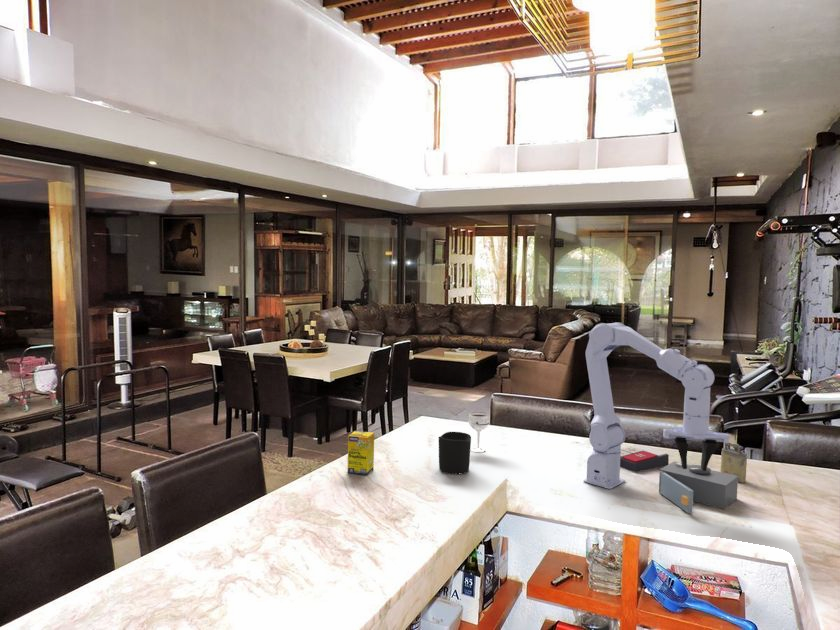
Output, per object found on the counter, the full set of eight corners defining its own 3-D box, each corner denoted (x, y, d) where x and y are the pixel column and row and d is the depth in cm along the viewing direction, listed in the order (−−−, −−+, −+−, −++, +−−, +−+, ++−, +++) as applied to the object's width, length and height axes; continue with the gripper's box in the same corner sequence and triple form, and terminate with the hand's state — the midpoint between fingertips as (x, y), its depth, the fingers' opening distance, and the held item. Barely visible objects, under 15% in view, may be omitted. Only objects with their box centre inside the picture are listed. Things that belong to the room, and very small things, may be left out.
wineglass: (464, 448, 186) (465, 412, 186) (483, 447, 188) (484, 411, 188) (472, 454, 180) (473, 417, 179) (492, 453, 182) (493, 416, 181)
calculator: (606, 451, 175) (639, 442, 182) (606, 464, 175) (639, 455, 183) (635, 461, 165) (669, 452, 173) (635, 475, 166) (669, 465, 173)
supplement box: (347, 473, 160) (347, 435, 159) (354, 467, 165) (355, 430, 165) (367, 475, 158) (367, 437, 158) (373, 469, 164) (374, 431, 163)
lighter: (748, 482, 159) (750, 447, 159) (740, 484, 157) (742, 448, 157) (724, 474, 166) (726, 440, 165) (716, 476, 164) (718, 442, 163)
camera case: (724, 509, 139) (726, 481, 139) (658, 491, 150) (660, 465, 150) (736, 498, 146) (738, 472, 146) (673, 482, 157) (674, 457, 157)
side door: (685, 513, 135) (686, 490, 135) (655, 491, 149) (656, 471, 149) (692, 513, 136) (693, 490, 135) (662, 491, 149) (663, 471, 149)
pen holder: (475, 473, 162) (476, 438, 162) (445, 476, 159) (446, 441, 158) (461, 463, 171) (462, 430, 170) (432, 466, 167) (433, 433, 167)
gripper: (667, 415, 137) (665, 470, 138) (733, 420, 134) (730, 476, 135) (662, 409, 144) (660, 462, 145) (725, 413, 141) (722, 467, 142)
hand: (693, 468), depth 140 cm, fingers open, 4 cm apart
